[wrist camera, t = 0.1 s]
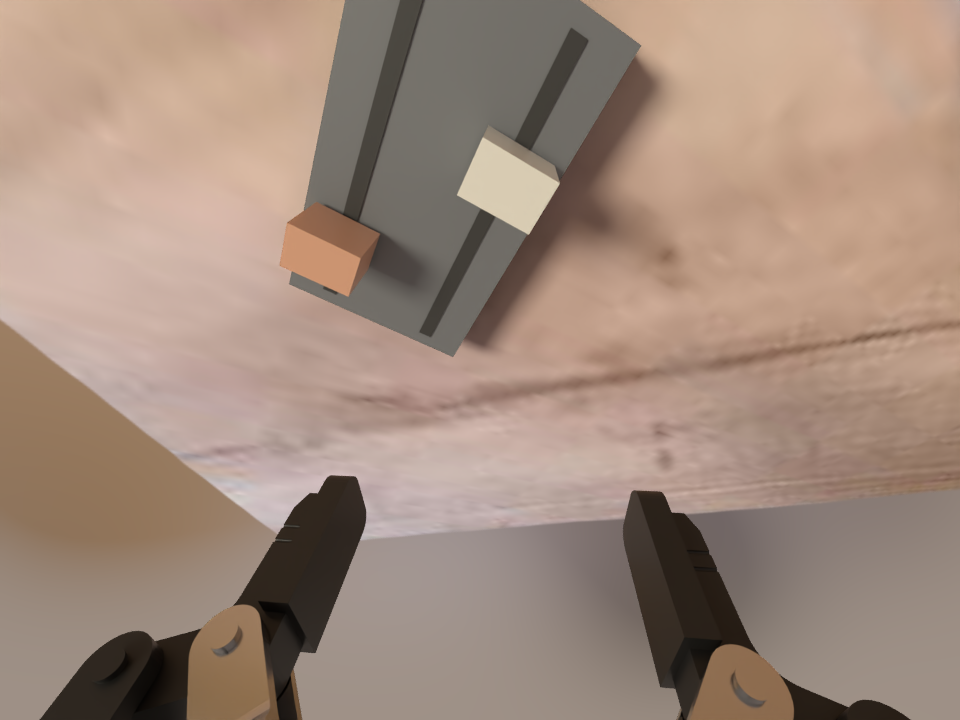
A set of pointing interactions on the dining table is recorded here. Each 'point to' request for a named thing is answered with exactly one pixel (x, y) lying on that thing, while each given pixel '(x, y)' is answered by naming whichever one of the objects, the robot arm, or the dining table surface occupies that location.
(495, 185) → the cream fader
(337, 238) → the terracotta fader
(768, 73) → the dining table surface
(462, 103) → the fader console
